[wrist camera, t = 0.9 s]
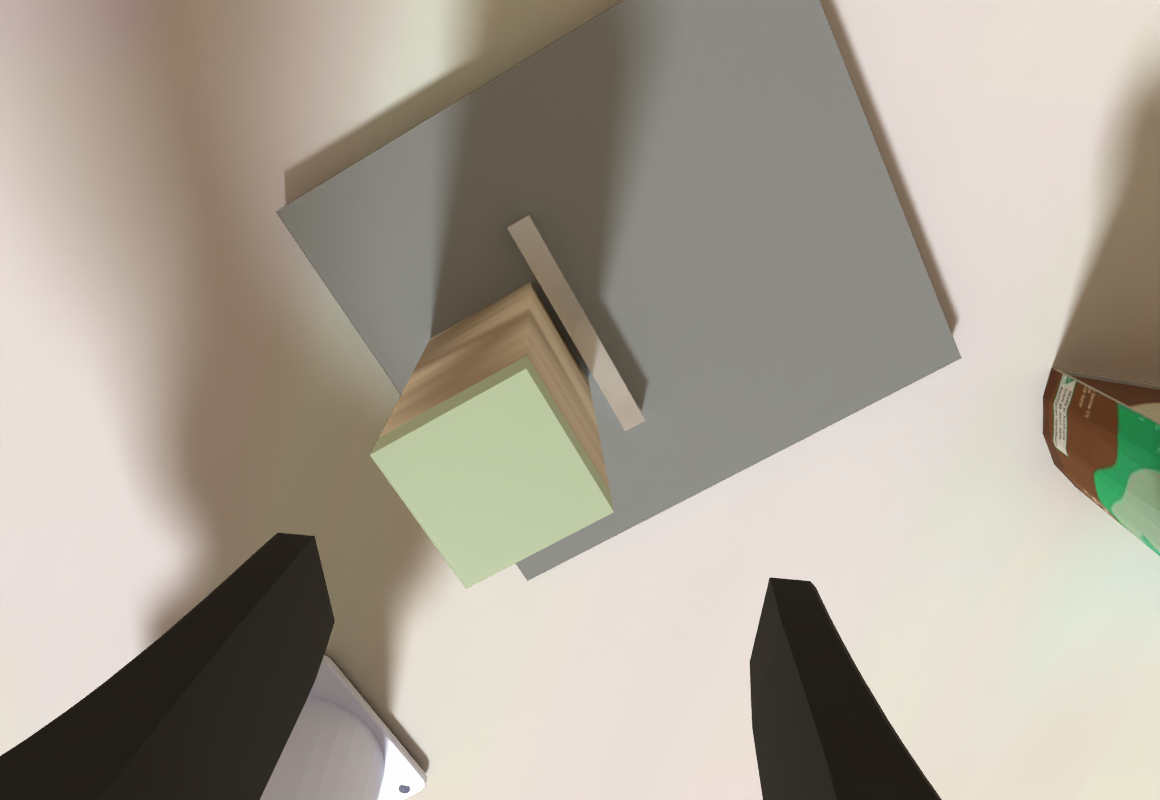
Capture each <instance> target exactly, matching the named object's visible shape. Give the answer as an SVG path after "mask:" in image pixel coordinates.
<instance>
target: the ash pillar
mask: <svg viewBox="0 0 1160 800" xmlns="http://www.w3.org/2000/svg"><path fill="white" fill-rule="evenodd" d="M370 456H371V458H372V459H373V460H374V462H375V463H376V465H377V466H378V467H379V469H380V470H381V472H382V473H383V474H384V476H385V477H386V478H387V480H388V481H389V483H390V484H391V485H392V487H393V488H394V490H395V491H396V492H397V494H398V495H399V497H400V498H401V499H402V501H403V502H404V504H405V505H406V506H407V508H408V509H409V510H410V512H411V513H412V515H413V516H414V517H415V519H416V520H417V522H418V523H419V524H420V526H421V527H422V529H423V530H424V531H425V533H426V534H427V535H428V537H429V538H430V540H431V541H432V542H433V544H434V545H435V547H436V548H437V549H438V551H439V552H440V554H441V555H442V556H443V558H444V559H445V561H446V562H447V563H448V565H449V566H450V567H451V569H452V570H453V572H454V573H455V574H456V576H457V577H458V579H459V580H460V581H461V583H462V584H463V586H464V587H465V588H466V589H467V588H469V587H470V586H472V585H474V584H476V583H478V582H480V581H482V580H484V579H486V578H488V577H490V576H492V575H494V574H496V573H498V572H499V571H501V570H503V569H505V568H507V567H509V566H511V565H513V564H515V563H517V562H519V561H521V560H523V559H525V558H526V557H528V556H530V555H532V554H534V553H536V552H538V551H540V550H542V549H544V548H546V547H548V546H550V545H552V544H554V543H555V542H557V541H559V540H561V539H563V538H565V537H567V536H569V535H571V534H573V533H575V532H577V531H579V530H581V529H582V528H584V527H586V526H588V525H590V524H592V523H594V522H596V521H598V520H600V519H602V518H604V517H606V516H608V515H610V514H611V513H613V512H614V509H613V504H612V499H611V494H610V489H609V483H608V478H607V473H606V468H605V463H604V458H603V452H602V447H601V442H600V437H599V432H598V427H597V421H596V416H595V411H594V406H593V401H592V395H591V390H590V385H589V380H588V378H587V376H586V374H585V373H584V371H583V369H582V367H581V366H580V364H579V362H578V361H577V359H576V357H575V355H574V354H573V352H572V350H571V349H570V347H569V345H568V344H567V342H566V340H565V338H564V337H563V335H562V333H561V332H560V330H559V328H558V326H557V325H556V323H555V321H554V320H553V318H552V316H551V314H550V313H549V311H548V309H547V308H546V306H545V304H544V302H543V301H542V299H541V297H540V296H539V294H538V292H537V290H536V289H535V287H534V285H533V284H532V282H529V283H527V284H526V285H524V286H522V287H520V288H519V289H517V290H515V291H513V292H511V293H510V294H508V295H506V296H504V297H503V298H501V299H499V300H497V301H496V302H494V303H492V304H490V305H489V306H487V307H485V308H483V309H482V310H480V311H478V312H476V313H474V314H473V315H471V316H469V317H467V318H466V319H464V320H462V321H460V322H459V323H457V324H455V325H453V326H452V327H450V328H448V329H446V330H445V331H443V332H441V333H439V334H437V335H436V336H434V337H432V338H430V340H429V342H428V344H427V346H426V348H425V350H424V352H423V354H422V355H421V357H420V359H419V361H418V363H417V365H416V367H415V369H414V371H413V373H412V375H411V377H410V378H409V380H408V382H407V384H406V386H405V388H404V390H403V392H402V394H401V396H400V398H399V400H398V401H397V403H396V405H395V407H394V409H393V411H392V413H391V415H390V417H389V419H388V421H387V423H386V424H385V426H384V428H383V430H382V432H381V434H380V436H379V438H378V440H377V442H376V444H375V446H374V447H373V449H372V451H371V453H370Z"/></svg>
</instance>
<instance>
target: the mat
mask: <svg viewBox="0 0 1160 800" xmlns="http://www.w3.org/2000/svg"><path fill="white" fill-rule="evenodd" d="M276 213H277V214H278V216H279V217H280V219H281V220H282V222H283V223H284V224H285V226H286V227H287V229H288V230H289V232H290V233H291V235H292V236H293V238H294V239H295V241H296V242H297V244H298V245H299V246H300V248H301V249H302V251H303V252H304V254H305V255H306V257H307V258H308V260H309V261H310V263H311V264H312V266H313V267H314V268H315V270H316V271H317V273H318V274H319V276H320V277H321V279H322V280H323V282H324V283H325V285H326V286H327V288H328V289H329V290H330V292H331V293H332V295H333V296H334V298H335V299H336V301H337V302H338V304H339V305H340V307H341V308H342V310H343V311H344V312H345V314H346V315H347V317H348V318H349V320H350V321H351V323H352V324H353V326H354V327H355V329H356V330H357V331H358V333H359V334H360V336H361V337H362V339H363V340H364V342H365V343H366V345H367V346H368V348H369V349H370V351H371V352H372V353H373V355H374V356H375V358H376V359H377V361H378V362H379V364H380V365H381V367H382V368H383V370H384V371H385V373H386V374H387V375H388V377H389V378H390V380H391V381H392V383H393V384H394V386H395V387H396V389H397V390H398V392H399V393H400V395H401V394H402V392H403V390H404V388H405V386H406V384H407V382H408V380H409V378H410V377H411V375H412V373H413V371H414V369H415V367H416V365H417V363H418V361H419V359H420V357H421V355H422V354H423V352H424V350H425V348H426V346H427V344H428V342H429V340H430V338H432V337H434V336H436V335H437V334H439V333H441V332H443V331H445V330H446V329H448V328H450V327H452V326H453V325H455V324H457V323H459V322H460V321H462V320H464V319H466V318H467V317H469V316H471V315H473V314H474V313H476V312H478V311H480V310H482V309H483V308H485V307H487V306H489V305H490V304H492V303H494V302H496V301H497V300H499V299H501V298H503V297H504V296H506V295H508V294H510V293H511V292H513V291H515V290H517V289H519V288H520V287H522V286H524V285H526V284H527V283H529V282H532V284H533V285H534V287H535V289H536V290H537V292H538V294H539V296H540V297H541V299H542V301H543V302H544V304H545V306H546V308H547V309H548V311H549V313H550V314H551V316H552V318H553V320H554V321H555V323H556V325H557V326H558V328H559V330H560V332H561V333H562V335H563V337H564V338H565V340H566V342H567V344H568V345H569V347H570V349H571V350H572V352H573V354H574V355H575V357H576V359H577V361H578V362H579V364H580V366H581V367H582V369H583V371H584V373H585V374H586V376H587V378H588V380H589V385H590V390H591V395H592V401H593V406H594V411H595V416H596V421H597V427H598V432H599V437H600V442H601V447H602V452H603V458H604V463H605V468H606V473H607V478H608V483H609V489H610V494H611V499H612V504H613V509H614V512H613V513H611V514H610V515H608V516H606V517H604V518H602V519H600V520H598V521H596V522H594V523H592V524H590V525H588V526H586V527H584V528H582V529H581V530H579V531H577V532H575V533H573V534H571V535H569V536H567V537H565V538H563V539H561V540H559V541H557V542H555V543H554V544H552V545H550V546H548V547H546V548H544V549H542V550H540V551H538V552H536V553H534V554H532V555H530V556H528V557H526V558H525V559H523V560H521V561H519V562H517V563H516V565H517V566H518V567H519V569H520V570H521V572H522V573H523V575H524V576H525V578H526V579H527V581H528V580H530V579H532V578H534V577H536V576H538V575H540V574H542V573H544V572H546V571H548V570H549V569H551V568H553V567H555V566H557V565H559V564H561V563H563V562H565V561H567V560H569V559H571V558H573V557H575V556H577V555H579V554H581V553H583V552H585V551H586V550H588V549H590V548H592V547H594V546H596V545H598V544H600V543H602V542H604V541H606V540H608V539H610V538H612V537H614V536H616V535H618V534H620V533H622V532H623V531H625V530H627V529H629V528H631V527H633V526H635V525H637V524H639V523H641V522H643V521H645V520H647V519H649V518H651V517H653V516H655V515H657V514H659V513H660V512H662V511H664V510H666V509H668V508H670V507H672V506H674V505H676V504H678V503H680V502H682V501H684V500H686V499H688V498H690V497H692V496H694V495H696V494H697V493H699V492H701V491H703V490H705V489H707V488H709V487H711V486H713V485H715V484H717V483H719V482H721V481H723V480H725V479H727V478H729V477H731V476H733V475H734V474H736V473H738V472H740V471H742V470H744V469H746V468H748V467H750V466H752V465H754V464H756V463H758V462H760V461H762V460H764V459H766V458H768V457H770V456H771V455H773V454H775V453H777V452H779V451H781V450H783V449H785V448H787V447H789V446H791V445H793V444H795V443H797V442H799V441H801V440H803V439H805V438H807V437H808V436H810V435H812V434H814V433H816V432H818V431H820V430H822V429H824V428H826V427H828V426H830V425H832V424H834V423H836V422H838V421H840V420H842V419H844V418H845V417H847V416H849V415H851V414H853V413H855V412H857V411H859V410H861V409H863V408H865V407H867V406H869V405H871V404H873V403H875V402H877V401H879V400H881V399H882V398H884V397H886V396H888V395H890V394H892V393H894V392H896V391H898V390H900V389H902V388H904V387H906V386H908V385H910V384H912V383H914V382H916V381H918V380H920V379H921V378H923V377H925V376H927V375H929V374H931V373H933V372H935V371H937V370H939V369H941V368H943V367H945V366H947V365H949V364H951V363H953V362H955V361H957V360H958V359H960V358H961V356H960V353H959V351H958V348H957V346H956V343H955V341H954V338H953V336H952V333H951V331H950V328H949V326H948V323H947V321H946V318H945V315H944V313H943V310H942V308H941V305H940V303H939V300H938V298H937V295H936V293H935V290H934V288H933V285H932V283H931V280H930V278H929V275H928V273H927V270H926V268H925V265H924V262H923V260H922V257H921V255H920V252H919V250H918V247H917V245H916V242H915V240H914V237H913V235H912V232H911V230H910V227H909V225H908V222H907V220H906V217H905V214H904V212H903V209H902V207H901V204H900V202H899V199H898V197H897V194H896V192H895V189H894V187H893V184H892V182H891V179H890V177H889V174H888V172H887V169H886V166H885V164H884V161H883V159H882V156H881V154H880V151H879V149H878V146H877V144H876V141H875V139H874V136H873V134H872V131H871V129H870V126H869V124H868V121H867V119H866V116H865V113H864V111H863V108H862V106H861V103H860V101H859V98H858V96H857V93H856V91H855V88H854V86H853V83H852V81H851V78H850V76H849V73H848V71H847V68H846V65H845V63H844V60H843V58H842V55H841V53H840V50H839V48H838V45H837V43H836V40H835V38H834V35H833V33H832V30H831V28H830V25H829V23H828V20H827V17H826V15H825V12H824V10H823V7H822V5H821V2H820V0H623V1H621V2H620V3H618V4H616V5H615V6H613V7H611V8H610V9H608V10H606V11H605V12H603V13H602V14H600V15H598V16H597V17H595V18H593V19H592V20H590V21H588V22H587V23H585V24H583V25H582V26H580V27H579V28H577V29H575V30H574V31H572V32H570V33H569V34H567V35H565V36H564V37H562V38H560V39H559V40H557V41H556V42H554V43H552V44H551V45H549V46H547V47H546V48H544V49H542V50H541V51H539V52H537V53H536V54H534V55H533V56H531V57H529V58H528V59H526V60H524V61H523V62H521V63H519V64H518V65H516V66H514V67H513V68H511V69H510V70H508V71H506V72H505V73H503V74H501V75H500V76H498V77H496V78H495V79H493V80H491V81H490V82H488V83H487V84H485V85H483V86H482V87H480V88H478V89H477V90H475V91H473V92H472V93H470V94H468V95H467V96H465V97H464V98H462V99H460V100H459V101H457V102H455V103H454V104H452V105H450V106H449V107H447V108H445V109H444V110H442V111H440V112H439V113H437V114H436V115H434V116H432V117H431V118H429V119H427V120H426V121H424V122H422V123H421V124H419V125H417V126H416V127H414V128H413V129H411V130H409V131H408V132H406V133H404V134H403V135H401V136H399V137H398V138H396V139H394V140H393V141H391V142H390V143H388V144H386V145H385V146H383V147H381V148H380V149H378V150H376V151H375V152H373V153H371V154H370V155H368V156H367V157H365V158H363V159H362V160H360V161H358V162H357V163H355V164H353V165H352V166H350V167H348V168H347V169H345V170H344V171H342V172H340V173H339V174H337V175H335V176H334V177H332V178H330V179H329V180H327V181H325V182H324V183H322V184H321V185H319V186H317V187H316V188H314V189H312V190H311V191H309V192H307V193H306V194H304V195H302V196H301V197H299V198H298V199H296V200H294V201H293V202H291V203H289V204H288V205H286V206H284V207H283V208H281V209H279V210H278V211H276Z"/></svg>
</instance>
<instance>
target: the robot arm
mask: <svg viewBox="0 0 1160 800" xmlns="http://www.w3.org/2000/svg"><path fill="white" fill-rule="evenodd" d="M334 622H335V621H334V616H333V612H332V608H331V604H330V599H329V595H328V591H327V587H326V583H325V578H324V574H323V570H322V566H321V561H320V557H319V553H318V549H317V545H316V540H315V536H307V535H296V534H285V533H277V534H276V535H275V536H274V537H272V538H271V539H270V540H269V541H268V542H267V543H266V544H264V545H263V546H262V547H261V548H260V549H259V550H258V551H257V552H255V553H254V554H253V555H252V556H251V557H250V558H249V559H248V560H247V561H246V562H244V563H243V564H242V565H241V566H240V567H239V568H238V569H237V570H236V571H235V572H234V573H232V574H231V575H230V576H229V577H228V578H227V579H226V580H225V581H224V582H223V583H221V584H220V585H219V586H218V587H217V588H216V589H215V590H214V591H213V592H211V593H210V594H209V595H208V596H207V597H206V598H205V599H204V600H203V601H201V602H200V603H199V604H198V605H197V606H196V607H195V608H193V609H192V610H191V611H190V612H189V613H188V614H186V615H185V616H184V617H183V618H182V619H181V620H180V621H178V622H177V623H176V624H175V625H174V626H173V627H172V628H170V629H169V630H168V631H167V632H166V633H165V634H164V635H162V636H161V637H160V638H159V639H158V640H156V641H155V642H154V643H153V644H152V645H150V646H149V647H148V648H147V649H145V650H144V651H143V652H142V653H141V654H139V655H138V656H137V657H136V658H134V659H133V660H132V661H131V662H129V663H128V664H127V665H126V666H124V667H123V668H122V669H121V670H119V671H118V672H117V673H116V674H115V675H113V676H112V677H111V678H110V679H108V680H107V681H106V682H105V683H103V684H102V685H101V686H99V687H98V688H97V689H95V690H94V691H93V692H91V693H90V694H89V695H87V696H86V697H85V698H84V699H82V700H81V701H80V702H78V703H77V704H75V705H74V706H73V707H71V708H70V709H69V710H67V711H66V712H65V713H63V714H62V715H60V716H59V717H57V718H56V719H55V720H53V721H52V722H50V723H49V724H48V725H46V726H45V727H43V728H42V729H40V730H39V731H38V732H36V733H35V734H33V735H32V736H30V737H29V738H27V739H26V740H24V741H23V742H21V743H20V744H18V745H17V746H15V747H14V748H12V749H11V750H9V751H8V752H6V753H4V754H3V755H1V756H0V800H403V799H405V798H407V797H409V796H411V795H413V794H415V793H417V792H419V791H421V790H423V789H424V788H425V786H426V781H427V776H426V774H425V772H424V771H423V770H422V769H421V768H420V766H419V765H418V764H417V763H416V761H415V760H414V759H413V758H412V757H411V755H410V754H409V753H408V752H407V751H406V749H405V748H404V747H403V746H402V745H401V743H400V742H399V741H398V740H397V738H396V737H395V736H394V735H393V734H392V732H391V731H390V730H389V729H388V728H387V726H386V725H385V724H384V723H383V722H382V720H381V719H380V718H379V717H378V715H377V714H376V713H375V712H374V711H373V709H372V708H371V707H370V706H369V705H368V703H367V702H366V701H365V700H364V699H363V697H362V696H361V695H360V694H359V692H358V691H357V690H356V689H355V688H354V686H353V685H352V684H351V683H350V682H349V680H348V679H347V678H346V677H345V675H344V674H343V673H342V672H341V671H340V669H339V668H338V667H337V666H336V665H335V663H334V662H333V661H332V660H331V659H330V658H329V657H328V656H325V655H324V654H325V650H326V647H327V644H328V641H329V638H330V634H331V631H332V628H333V625H334ZM750 681H751V707H752V727H753V734H754V742H755V748H756V755H757V762H758V769H759V776H760V782H761V789H762V795H763V800H942V799H941V798H940V797H939V795H938V794H937V792H936V791H935V790H934V788H933V787H932V785H931V784H930V783H929V781H928V780H927V778H926V777H925V775H924V774H923V772H922V771H921V769H920V768H919V766H918V765H917V763H916V762H915V760H914V759H913V757H912V756H911V755H910V753H909V752H908V750H907V749H906V747H905V746H904V744H903V743H902V741H901V739H900V738H899V736H898V735H897V733H896V732H895V730H894V728H893V727H892V725H891V724H890V722H889V721H888V719H887V717H886V716H885V714H884V712H883V711H882V709H881V707H880V706H879V704H878V702H877V701H876V699H875V697H874V696H873V694H872V692H871V691H870V689H869V687H868V686H867V684H866V682H865V681H864V679H863V677H862V675H861V674H860V672H859V670H858V668H857V667H856V665H855V663H854V661H853V660H852V658H851V656H850V654H849V652H848V650H847V648H846V647H845V645H844V643H843V641H842V639H841V637H840V635H839V634H838V632H837V630H836V628H835V626H834V624H833V622H832V620H831V618H830V616H829V614H828V612H827V610H826V608H825V606H824V604H823V602H822V600H821V598H820V595H819V593H818V591H817V589H816V587H815V586H814V585H813V584H812V583H811V582H810V581H802V580H791V579H780V578H770V579H769V583H768V587H767V592H766V596H765V600H764V604H763V608H762V613H761V617H760V621H759V625H758V630H757V634H756V638H755V642H754V647H753V651H752V655H751V659H750ZM403 784H406V785H408V786H403Z"/></svg>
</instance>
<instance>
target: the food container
mask: <svg viewBox="0 0 1160 800" xmlns="http://www.w3.org/2000/svg"><path fill="white" fill-rule="evenodd" d="M1043 435H1044V438H1045V440H1046V443H1047V446H1048V449H1049V451H1050V454H1051V457H1052V459H1053V462H1054V464H1055V465H1056V467H1057V468H1058V469H1059V470H1060V471H1061V472H1062V473H1063V474H1064V475H1065V476H1066V477H1067V478H1068V479H1069V480H1070V481H1071V482H1072V484H1073V485H1074V486H1075V487H1076V488H1078V489H1079V490H1080V491H1081V492H1083V493H1084V494H1085V495H1086V496H1087V497H1089V498H1090V499H1091V500H1092V501H1093V502H1095V503H1096V504H1097V505H1098V506H1100V507H1101V508H1102V509H1103V510H1104V511H1106V512H1107V513H1108V514H1109V515H1110V516H1112V517H1113V518H1114V519H1115V520H1117V521H1118V522H1119V523H1120V524H1121V525H1123V526H1124V527H1125V528H1126V529H1127V530H1129V531H1130V532H1131V533H1132V534H1134V535H1135V536H1136V537H1137V538H1138V539H1140V540H1141V541H1142V542H1143V543H1144V544H1146V545H1147V546H1148V547H1149V548H1151V549H1152V550H1153V551H1154V552H1155V553H1157V554H1158V555H1159V556H1160V385H1156V384H1150V383H1144V382H1137V381H1131V380H1125V379H1118V378H1112V377H1106V376H1099V375H1093V374H1087V373H1080V372H1074V371H1068V370H1061V369H1055V368H1052V369H1051V372H1050V375H1049V379H1048V382H1047V386H1046V389H1045V392H1044V396H1043Z"/></svg>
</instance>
